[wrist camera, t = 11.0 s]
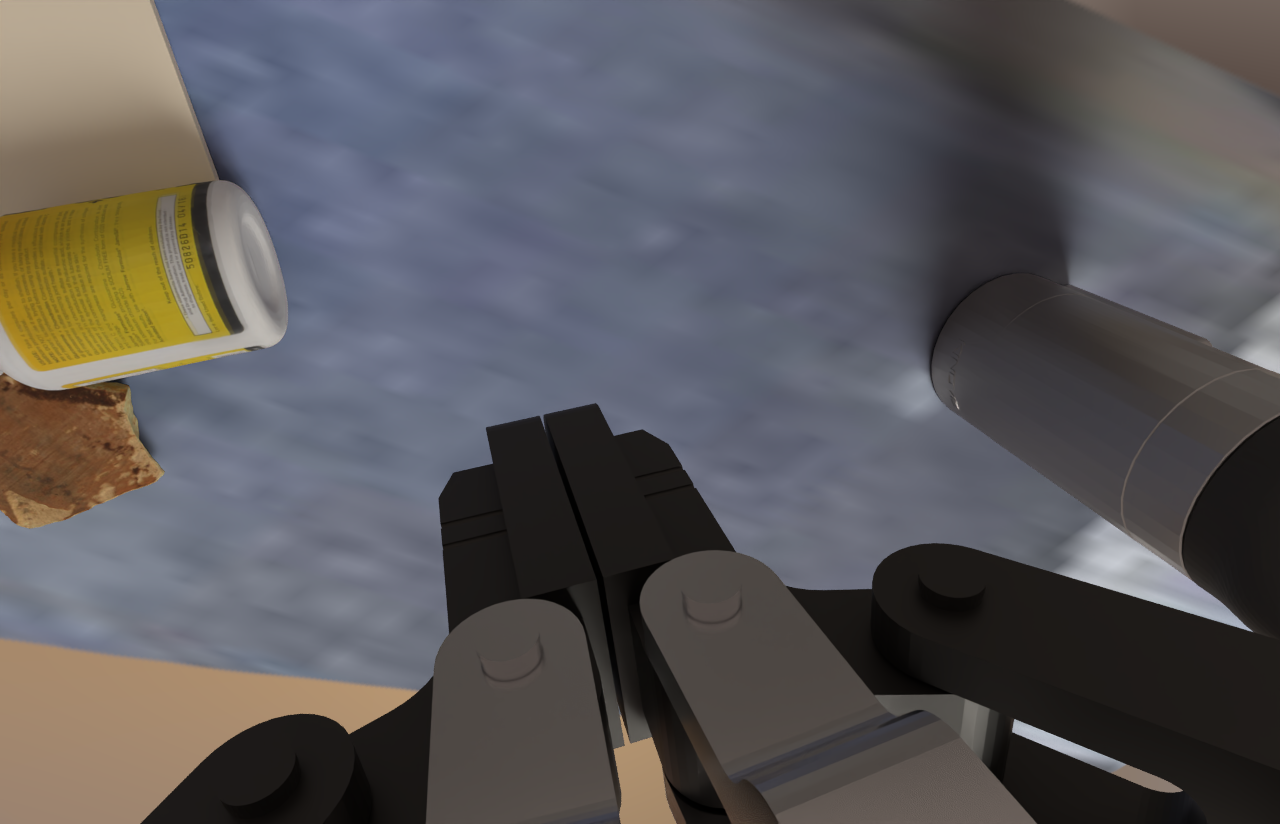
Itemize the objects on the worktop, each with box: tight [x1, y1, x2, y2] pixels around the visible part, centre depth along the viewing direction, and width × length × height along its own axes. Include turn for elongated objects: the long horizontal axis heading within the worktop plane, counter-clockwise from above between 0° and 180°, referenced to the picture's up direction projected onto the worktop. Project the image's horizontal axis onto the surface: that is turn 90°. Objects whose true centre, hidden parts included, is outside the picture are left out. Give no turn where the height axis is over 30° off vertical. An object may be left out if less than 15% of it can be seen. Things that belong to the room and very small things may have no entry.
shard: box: [0, 373, 165, 529], centre depth 33 cm, size 11×8×2 cm
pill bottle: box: [0, 180, 288, 390], centre depth 29 cm, size 6×6×12 cm
